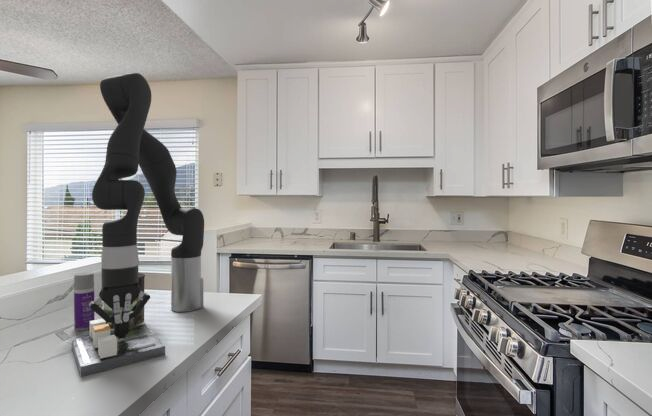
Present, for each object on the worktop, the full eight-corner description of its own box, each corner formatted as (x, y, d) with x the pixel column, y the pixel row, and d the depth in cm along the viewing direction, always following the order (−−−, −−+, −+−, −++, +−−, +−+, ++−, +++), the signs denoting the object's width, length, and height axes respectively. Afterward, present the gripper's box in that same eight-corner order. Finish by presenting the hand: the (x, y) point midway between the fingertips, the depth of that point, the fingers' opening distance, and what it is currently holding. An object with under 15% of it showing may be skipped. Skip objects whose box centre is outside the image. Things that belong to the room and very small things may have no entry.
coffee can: (145, 327, 98) (144, 277, 98) (101, 334, 93) (101, 281, 93) (145, 317, 107) (144, 271, 107) (105, 322, 102) (104, 274, 102)
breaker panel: (144, 331, 95) (144, 323, 95) (165, 354, 81) (165, 345, 81) (71, 346, 85) (71, 338, 85) (80, 376, 71) (80, 366, 70)
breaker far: (103, 332, 88) (103, 318, 88) (105, 335, 86) (105, 321, 86) (89, 335, 86) (89, 321, 86) (91, 338, 84) (91, 324, 84)
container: (84, 331, 95) (83, 276, 95) (69, 329, 96) (69, 275, 96) (98, 325, 100) (98, 272, 100) (84, 323, 101) (84, 271, 101)
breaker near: (114, 350, 78) (114, 334, 78) (116, 354, 75) (116, 338, 75) (98, 353, 76) (98, 337, 76) (100, 358, 74) (100, 342, 73)
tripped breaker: (107, 340, 83) (107, 323, 83) (110, 344, 81) (110, 327, 81) (92, 344, 81) (92, 326, 81) (94, 348, 79) (94, 330, 79)
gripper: (146, 259, 90) (147, 326, 90) (84, 265, 81) (85, 339, 82) (154, 263, 84) (155, 335, 85) (89, 270, 76) (90, 350, 76)
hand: (121, 337), depth 83 cm, fingers closed
